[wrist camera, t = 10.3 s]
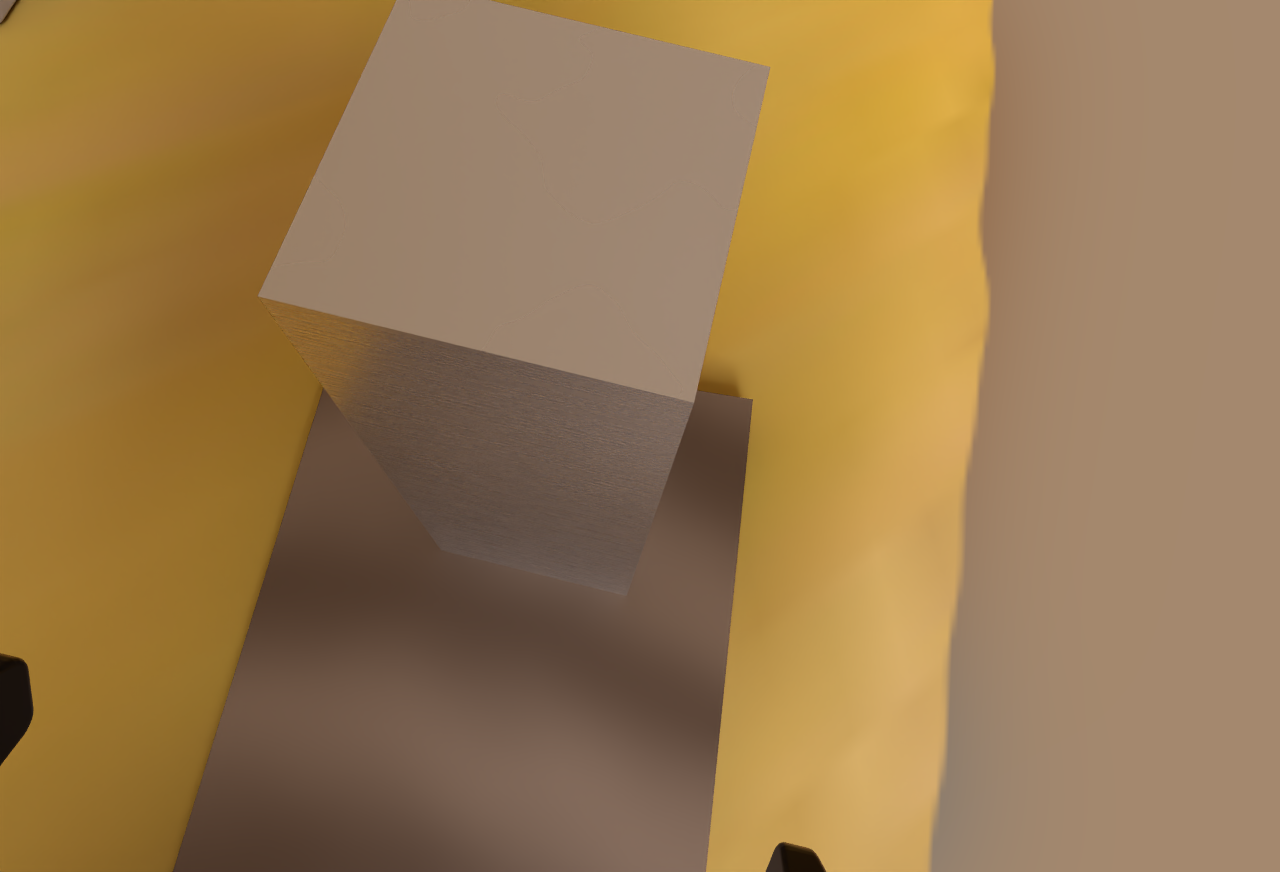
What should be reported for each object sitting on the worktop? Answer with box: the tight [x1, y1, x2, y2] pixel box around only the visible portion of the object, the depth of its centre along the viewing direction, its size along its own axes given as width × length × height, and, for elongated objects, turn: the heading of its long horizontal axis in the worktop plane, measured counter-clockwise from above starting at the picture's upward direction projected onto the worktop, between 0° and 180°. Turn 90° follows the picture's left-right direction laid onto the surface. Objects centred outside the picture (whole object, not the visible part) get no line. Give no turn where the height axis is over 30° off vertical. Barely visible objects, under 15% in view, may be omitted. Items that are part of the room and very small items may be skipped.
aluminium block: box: [258, 0, 770, 596], centre depth 16 cm, size 5×5×13 cm
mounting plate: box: [173, 388, 753, 872], centre depth 21 cm, size 16×12×1 cm
